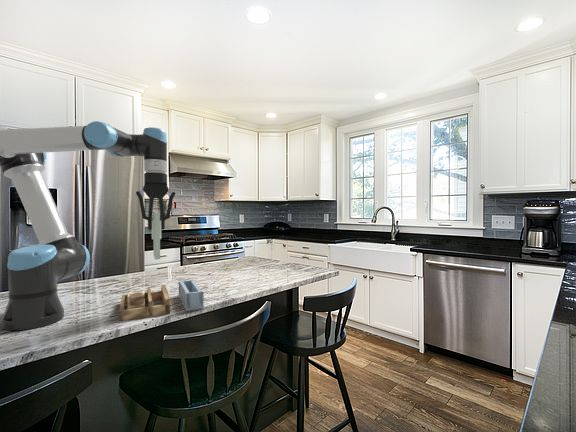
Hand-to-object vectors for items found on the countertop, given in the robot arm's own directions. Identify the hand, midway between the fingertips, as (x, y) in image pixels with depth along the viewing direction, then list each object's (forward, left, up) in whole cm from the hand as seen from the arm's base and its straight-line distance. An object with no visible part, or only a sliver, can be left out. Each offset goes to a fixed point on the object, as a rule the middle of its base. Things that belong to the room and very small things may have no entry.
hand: (156, 238), depth 110 cm
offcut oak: (-7, -6, -25) cm, 26 cm away
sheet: (0, 0, -7) cm, 7 cm away
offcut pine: (-7, +4, -25) cm, 26 cm away
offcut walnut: (-7, -6, -21) cm, 22 cm away
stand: (+11, 0, -24) cm, 27 cm away
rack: (-4, 0, -24) cm, 25 cm away
